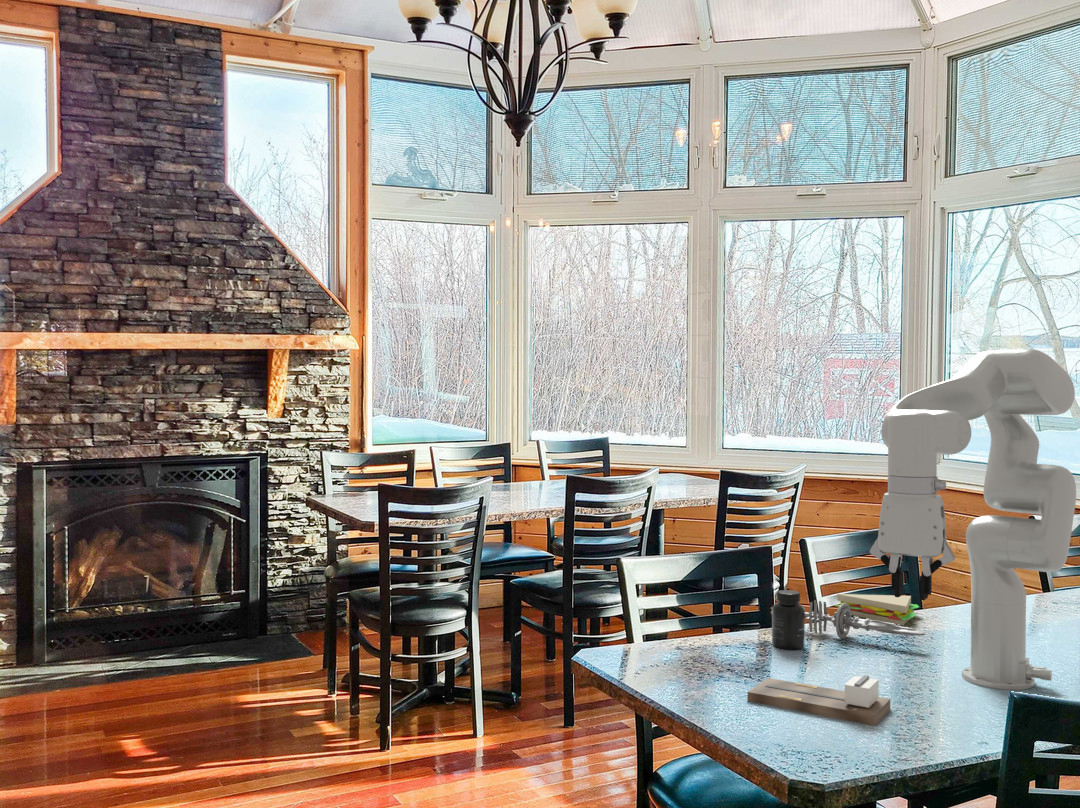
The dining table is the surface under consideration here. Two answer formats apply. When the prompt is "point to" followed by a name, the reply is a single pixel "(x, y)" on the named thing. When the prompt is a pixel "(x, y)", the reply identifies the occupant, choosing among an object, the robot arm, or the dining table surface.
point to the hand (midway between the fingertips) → (911, 596)
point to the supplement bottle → (788, 621)
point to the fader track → (816, 701)
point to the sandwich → (880, 607)
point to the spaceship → (852, 622)
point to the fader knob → (861, 691)
